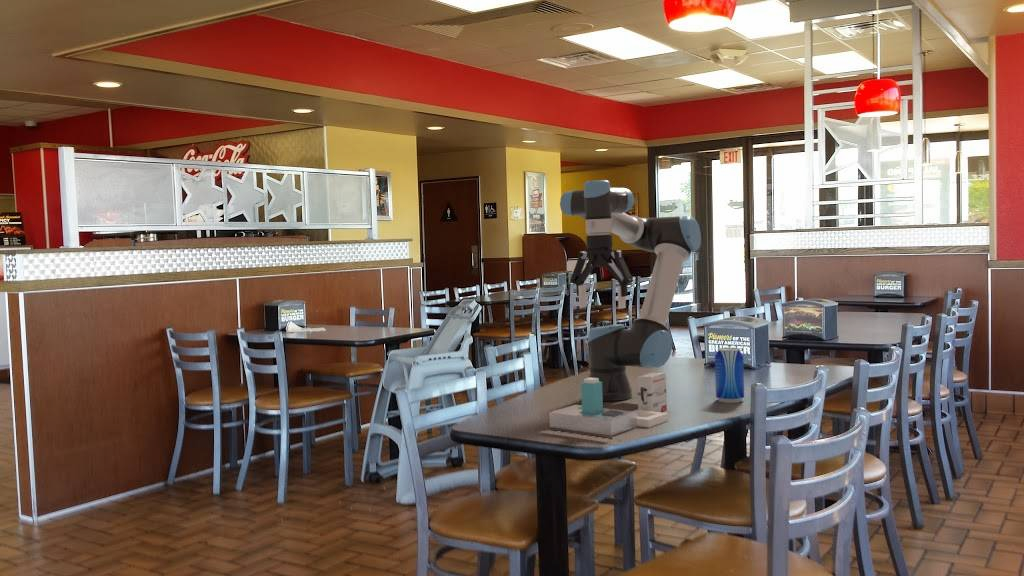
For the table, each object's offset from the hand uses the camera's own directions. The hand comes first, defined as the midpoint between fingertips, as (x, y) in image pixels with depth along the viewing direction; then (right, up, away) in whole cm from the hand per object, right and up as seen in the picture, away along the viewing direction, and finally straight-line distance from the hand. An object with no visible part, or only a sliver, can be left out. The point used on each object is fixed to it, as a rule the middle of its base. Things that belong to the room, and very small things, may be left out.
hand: (602, 307), depth 252 cm
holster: (+10, -32, -15) cm, 36 cm away
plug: (-4, -31, -19) cm, 37 cm away
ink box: (+14, -31, -2) cm, 34 cm away
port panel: (-4, -32, -19) cm, 38 cm away
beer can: (+41, -29, +14) cm, 52 cm away
